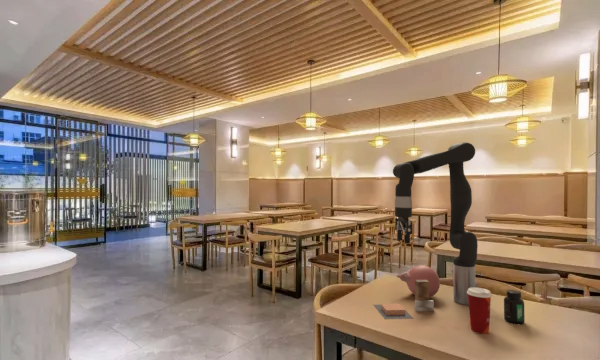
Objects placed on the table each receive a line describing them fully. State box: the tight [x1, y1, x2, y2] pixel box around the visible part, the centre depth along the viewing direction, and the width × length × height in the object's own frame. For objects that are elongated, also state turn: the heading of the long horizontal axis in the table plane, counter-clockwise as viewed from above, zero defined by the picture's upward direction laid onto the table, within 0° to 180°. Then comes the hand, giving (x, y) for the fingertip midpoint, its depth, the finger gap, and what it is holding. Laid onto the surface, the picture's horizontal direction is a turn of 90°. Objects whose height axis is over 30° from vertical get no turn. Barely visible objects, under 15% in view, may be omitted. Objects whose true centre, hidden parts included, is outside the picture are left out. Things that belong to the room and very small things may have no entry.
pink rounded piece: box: [396, 264, 441, 298], centre depth 157 cm, size 15×20×15 cm
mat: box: [373, 304, 415, 320], centre depth 136 cm, size 12×16×1 cm
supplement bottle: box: [503, 289, 526, 326], centre depth 128 cm, size 7×7×12 cm
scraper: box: [414, 280, 435, 312], centre depth 138 cm, size 8×4×13 cm, turn 93°
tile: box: [380, 303, 406, 315], centre depth 135 cm, size 8×2×7 cm
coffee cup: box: [467, 287, 493, 335], centre depth 120 cm, size 8×8×15 cm
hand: (403, 241), depth 145 cm, fingers open, 8 cm apart
